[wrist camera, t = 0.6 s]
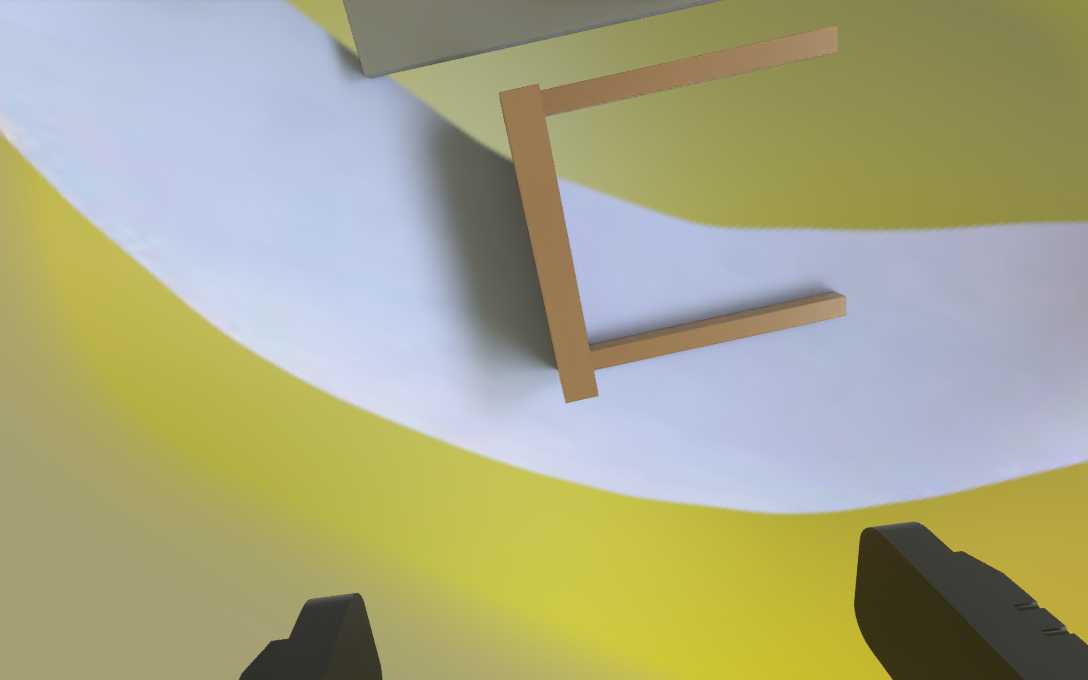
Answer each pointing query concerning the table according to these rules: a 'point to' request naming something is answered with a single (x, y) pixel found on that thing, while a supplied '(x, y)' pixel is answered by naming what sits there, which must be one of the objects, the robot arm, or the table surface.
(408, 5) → the bracket-mounted cylinder
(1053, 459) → the table surface
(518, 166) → the brown u-shaped frame
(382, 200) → the table surface
